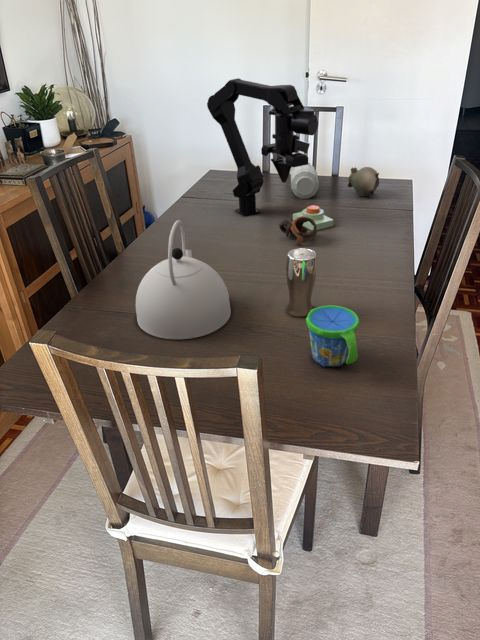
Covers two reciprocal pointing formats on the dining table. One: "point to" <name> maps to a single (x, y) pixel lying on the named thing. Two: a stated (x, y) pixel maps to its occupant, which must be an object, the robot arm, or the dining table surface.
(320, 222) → the box
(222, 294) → the kettle
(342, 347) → the snack cup
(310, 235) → the pottery mug
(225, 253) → the dining table surface
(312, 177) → the device
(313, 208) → the call button
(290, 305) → the beer glass
